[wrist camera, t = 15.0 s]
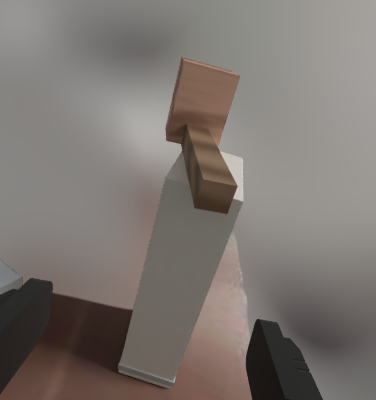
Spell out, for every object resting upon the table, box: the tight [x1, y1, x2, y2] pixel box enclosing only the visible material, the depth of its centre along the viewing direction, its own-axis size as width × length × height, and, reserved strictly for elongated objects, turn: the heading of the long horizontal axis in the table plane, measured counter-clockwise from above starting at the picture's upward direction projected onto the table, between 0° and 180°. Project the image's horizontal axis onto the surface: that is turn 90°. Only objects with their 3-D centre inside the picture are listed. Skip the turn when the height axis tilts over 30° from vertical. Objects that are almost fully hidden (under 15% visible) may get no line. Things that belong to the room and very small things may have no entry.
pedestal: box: [117, 151, 243, 389], centre depth 43 cm, size 14×8×32 cm, turn 170°
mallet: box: [166, 57, 240, 214], centre depth 34 cm, size 23×7×10 cm, turn 5°
